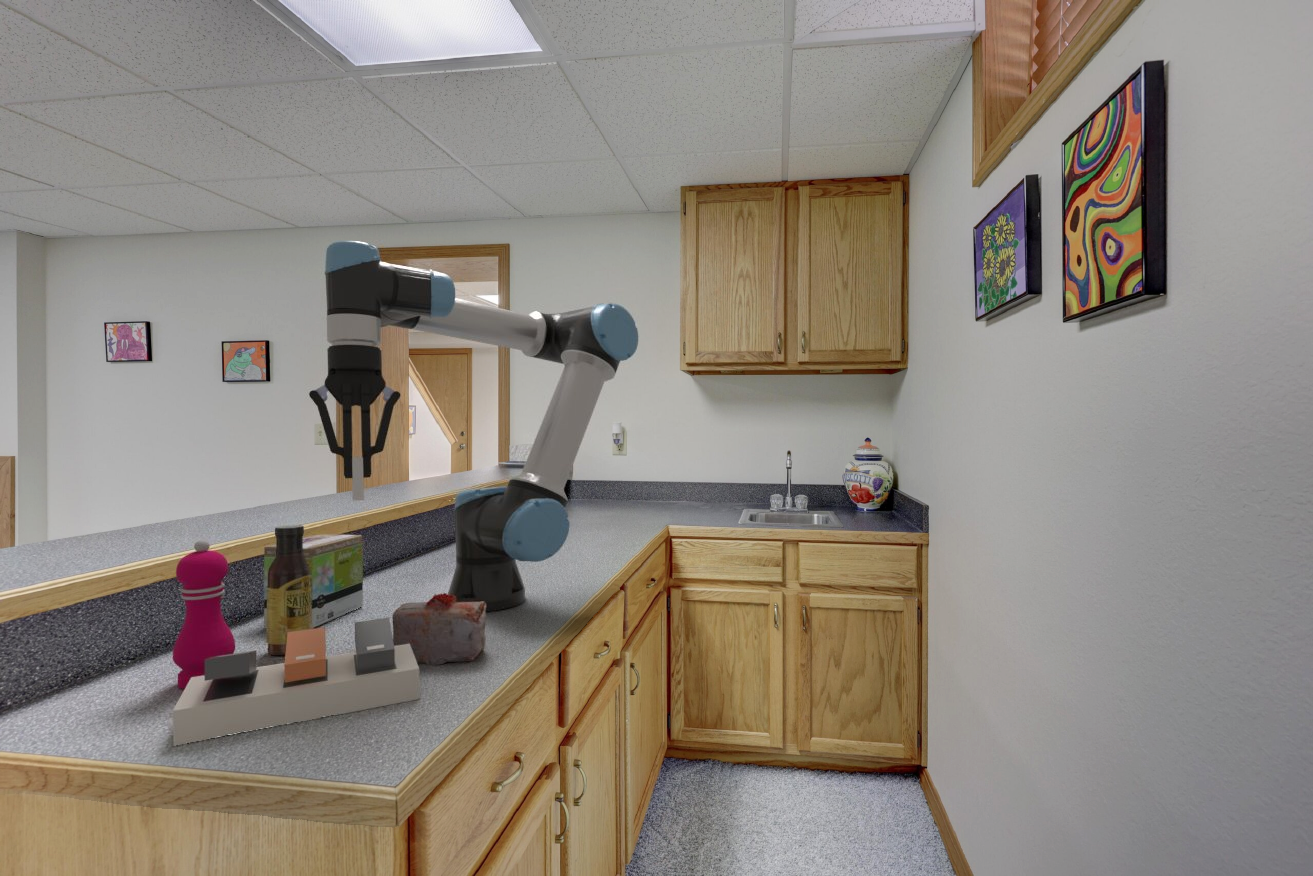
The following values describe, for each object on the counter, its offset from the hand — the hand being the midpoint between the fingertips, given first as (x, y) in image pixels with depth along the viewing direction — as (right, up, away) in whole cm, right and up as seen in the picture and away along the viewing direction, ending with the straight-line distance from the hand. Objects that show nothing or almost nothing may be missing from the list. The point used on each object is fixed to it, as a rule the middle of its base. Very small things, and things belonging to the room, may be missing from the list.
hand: (358, 499), depth 99 cm
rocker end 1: (-6, -19, -21) cm, 29 cm away
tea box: (-18, -25, +22) cm, 38 cm away
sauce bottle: (-13, -25, +4) cm, 28 cm away
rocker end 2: (+8, -19, -13) cm, 24 cm away
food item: (+13, -25, 0) cm, 28 cm away
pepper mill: (-17, -25, -9) cm, 32 cm away
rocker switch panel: (+1, -25, -17) cm, 30 cm away
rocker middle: (+1, -19, -16) cm, 25 cm away
